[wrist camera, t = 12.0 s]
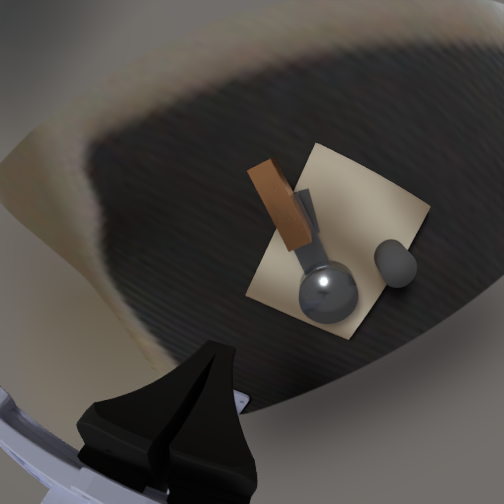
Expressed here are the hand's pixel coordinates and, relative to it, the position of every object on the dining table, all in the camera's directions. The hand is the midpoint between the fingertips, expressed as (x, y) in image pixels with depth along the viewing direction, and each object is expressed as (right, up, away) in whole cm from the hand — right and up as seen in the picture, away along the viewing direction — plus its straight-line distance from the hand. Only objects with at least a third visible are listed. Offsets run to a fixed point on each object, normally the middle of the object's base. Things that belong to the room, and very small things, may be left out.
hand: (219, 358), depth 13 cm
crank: (+5, +6, +6) cm, 10 cm away
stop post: (+11, +5, +7) cm, 14 cm away
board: (+8, +5, +7) cm, 12 cm away
